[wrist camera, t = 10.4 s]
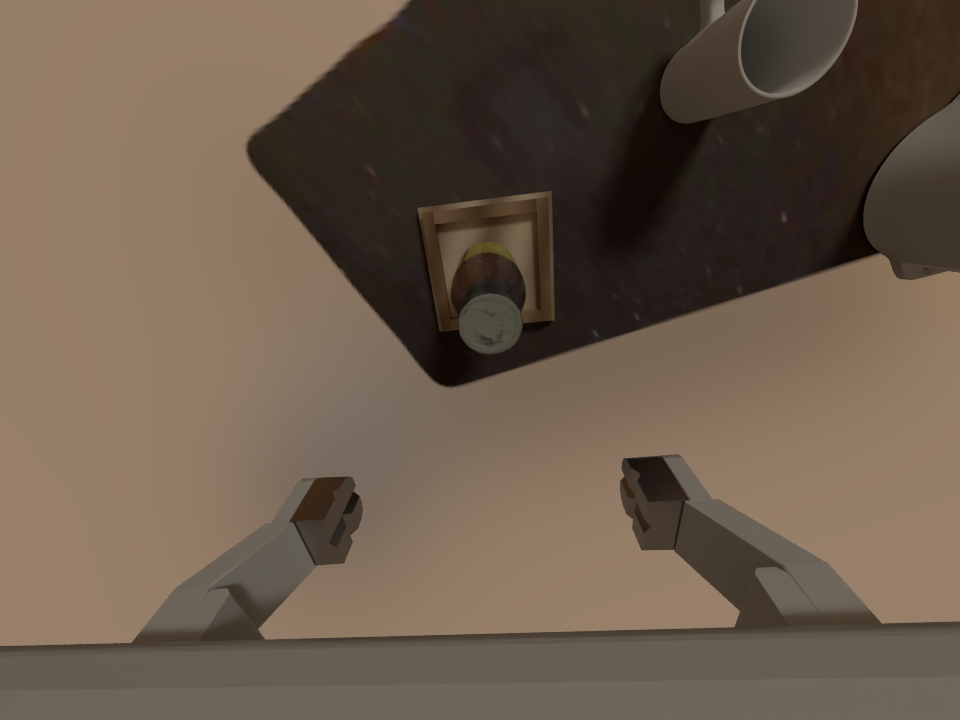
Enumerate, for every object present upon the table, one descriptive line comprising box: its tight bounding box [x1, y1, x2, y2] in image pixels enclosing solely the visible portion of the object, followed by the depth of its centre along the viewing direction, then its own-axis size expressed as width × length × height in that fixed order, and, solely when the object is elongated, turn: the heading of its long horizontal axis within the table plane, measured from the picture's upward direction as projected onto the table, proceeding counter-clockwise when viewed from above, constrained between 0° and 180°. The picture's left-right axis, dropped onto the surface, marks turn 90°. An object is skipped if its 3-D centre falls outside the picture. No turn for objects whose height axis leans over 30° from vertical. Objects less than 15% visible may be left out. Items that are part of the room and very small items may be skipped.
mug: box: [660, 0, 858, 124], centre depth 26 cm, size 10×7×12 cm, turn 20°
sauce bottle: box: [451, 241, 526, 354], centre depth 30 cm, size 7×6×20 cm
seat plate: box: [418, 191, 555, 332], centre depth 39 cm, size 14×14×2 cm
